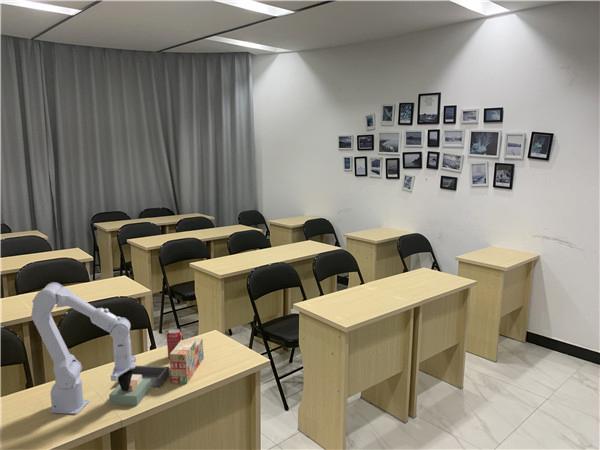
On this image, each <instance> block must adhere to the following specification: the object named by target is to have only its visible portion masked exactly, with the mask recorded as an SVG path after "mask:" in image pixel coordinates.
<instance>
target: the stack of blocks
mask: <svg viewBox="0 0 600 450" xmlns="http://www.w3.org/2000/svg"><path fill="white" fill-rule="evenodd" d="M204 358H205V356H204V343H203V338H202V337H201V338H200V337H197V338H196V337H188V338H187V339H186V340H185V339H182V340H181V341H180V342H179V343H178V345H177V346H176V347H175V348H174V350H173V351H172V352H171V353H170V358H169V363H170V364H169V365H170V367H169V368H170V380H171V381H170V382H171V384H181V385H182V384H184V385H187V384H188V383H189V382H190V380H191V379H192V377H193V376H194V374H195V372H196V371H197V369H198V368H199V366H200V365H201V363H202V362H203V360H204Z"/></svg>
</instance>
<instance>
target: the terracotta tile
mask: <svg viewBox="0 0 600 450" xmlns="http://www.w3.org/2000/svg"><path fill="white" fill-rule="evenodd" d="M136 386H137V380H131V382H130V388H129V390H128V391H133V390H134V389H135V388H136Z"/></svg>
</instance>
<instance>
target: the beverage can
mask: <svg viewBox="0 0 600 450" xmlns="http://www.w3.org/2000/svg"><path fill="white" fill-rule="evenodd" d="M181 340H183V333H182V331H181V329H180V328H171V329H169V330H168V331H167V334H166V342H167V343H166V344H167V346H166V347H167V358H168V359H170V353H171V352H172V351H173V350H174V348H175V347H176V346H177V345H178V343H179V342H180V341H181Z"/></svg>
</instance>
